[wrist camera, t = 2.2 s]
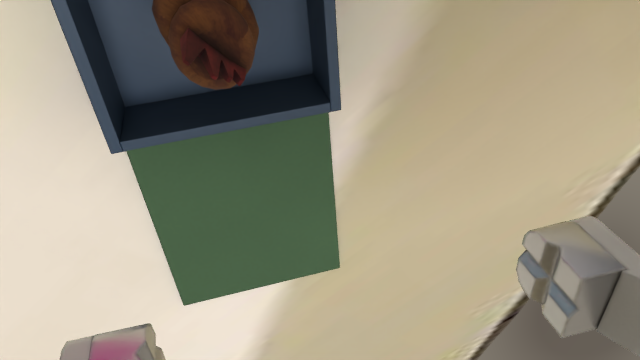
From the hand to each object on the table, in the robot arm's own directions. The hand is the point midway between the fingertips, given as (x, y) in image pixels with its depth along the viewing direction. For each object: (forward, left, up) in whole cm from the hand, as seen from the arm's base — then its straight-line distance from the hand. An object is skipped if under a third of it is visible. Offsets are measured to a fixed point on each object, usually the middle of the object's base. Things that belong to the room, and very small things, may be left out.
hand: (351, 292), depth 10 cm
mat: (+2, +22, -30) cm, 37 cm away
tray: (+2, +2, -30) cm, 30 cm away
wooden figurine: (+2, +2, -30) cm, 30 cm away
